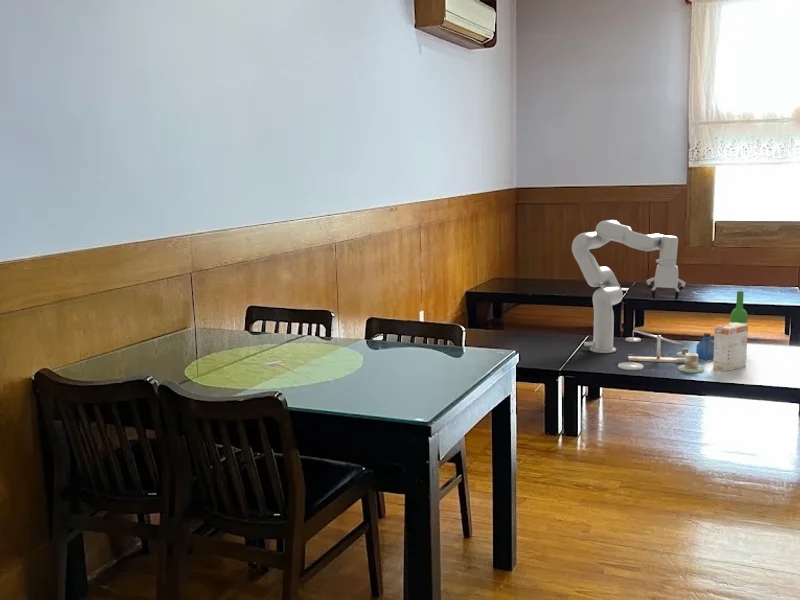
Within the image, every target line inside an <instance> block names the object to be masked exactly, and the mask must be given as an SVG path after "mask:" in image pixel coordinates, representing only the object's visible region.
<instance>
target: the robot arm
mask: <svg viewBox="0 0 800 600" xmlns="http://www.w3.org/2000/svg"><path fill="white" fill-rule="evenodd" d="M611 241H613V242H617V243H620V244H624V245H625V246H627V247H629V248H632V249H634V250H639V251H644V252H651V251H657V250H658V251H659V258H658V259H655V263H657V266H656V268H655V274H654V275H655V276H654V277H651V278H649V279H647V280H646V284H647V286H648V287H649V289H650V290H651V297H652V299H653V300H655V299H656V289H657V288H665V289H674V290H675V291H674V301H677V299H679V295H680V294H679V293H680V292H681V291H682V290H683V289H684V288H685V286H686V285H687V284H686V283H687V282H686V281H684V280H682V279H680V278H679V267H678V265H677V257H678V246H679V238H678V237H677V236H676V235H665V234H662V233H661V234H660V233H651V234H643V233H640V232H637V231H633V230H632V227H631V226H628V225H624V224H621V223H620V222H619V221H617V220H616V219H615V220H614V219H607V220H602V221H599V223H598V224H596V226H595V230H594V231H587V232H582V233H579V234H578V235H577V236H575V237H574V239H573V240H572V244H571V252H572V254H573V257H574V259H575V261H576V262H577V264H578V266H579V269H580V271H581V273H582V275H583V277H584V279H585V281H586V283H587V284H588V285H589V286H590V287H593V288H596V287H600V288H597V289H596V290H595V291H594V292H593V294H592V305H593V306H592V307H593V340H592V341H584V342H583V346H584V347H589V350H590V352H593V353H598V354H599V353H600V354H611V353H615V352H617V348H616V347H614V326H615V325H614V322H615V318H614V317H615V315H614V314H615V313H614V310H613V306H615V305H618V304H620V302H621V301H622V300H623V296H624V294H623V289H622V287H621V285H620V284H619V282H618V280H617V276H616V275H615V273H614V272H613V270H612V269H611V268H609V267H608V266H604V265H603V266H600V265H599V264H598V262H597V260H596V257H595V256H594V255H593V254H592V253H591V252H590V250H593V249H599V248H601V247H602V246H605V245H606V244H607V243H609V242H611ZM651 282H654V285H652V284H651ZM679 283H680V284H681V285H680V286H679V287H678V285H679Z"/></svg>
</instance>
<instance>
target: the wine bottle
mask: <svg viewBox="0 0 800 600" xmlns="http://www.w3.org/2000/svg"><path fill="white" fill-rule="evenodd" d="M744 294H745V293H744V291H739V290H738V291H737V292H736V302H735V304H736V305H735V308H733V310H732V311H731V313H730V316H729V317H730V318H729V324H730V323H735V322H736V323H742V324H747V325H748V317H749V314H748V312H747V311H746V309H744Z"/></svg>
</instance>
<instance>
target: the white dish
mask: <svg viewBox="0 0 800 600" xmlns="http://www.w3.org/2000/svg"><path fill="white" fill-rule="evenodd" d="M617 368H618V369H621V370H625V371H640V370H643V369H644V365H643V364H642V363H640V362H634V361H633V362H632V361H625V362H624V361H623V362H619V363H618V365H617Z"/></svg>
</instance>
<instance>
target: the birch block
mask: <svg viewBox="0 0 800 600" xmlns="http://www.w3.org/2000/svg"><path fill="white" fill-rule="evenodd" d="M684 358H685V363H684V365H685V368H686V369H698V366H699V359H698V354H697V353H696V352H695V353H694V352H693V353H692V352H688V353H685V357H684Z"/></svg>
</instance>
